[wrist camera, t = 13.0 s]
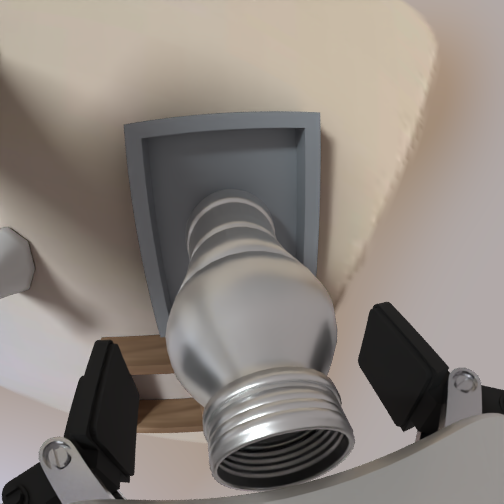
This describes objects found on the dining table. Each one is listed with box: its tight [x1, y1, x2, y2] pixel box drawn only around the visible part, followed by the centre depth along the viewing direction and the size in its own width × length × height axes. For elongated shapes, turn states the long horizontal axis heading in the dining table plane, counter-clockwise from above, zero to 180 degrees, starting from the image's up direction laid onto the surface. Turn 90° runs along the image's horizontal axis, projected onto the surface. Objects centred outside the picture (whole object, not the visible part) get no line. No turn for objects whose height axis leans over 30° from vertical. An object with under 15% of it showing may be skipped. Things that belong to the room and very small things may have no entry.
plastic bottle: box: [165, 189, 355, 491], centre depth 15 cm, size 6×7×20 cm
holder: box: [101, 335, 204, 433], centre depth 29 cm, size 12×11×4 cm
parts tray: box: [124, 111, 321, 337], centre depth 24 cm, size 18×14×3 cm
